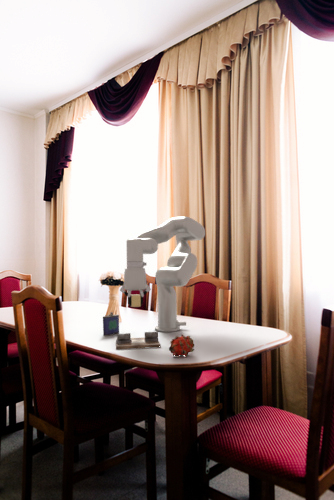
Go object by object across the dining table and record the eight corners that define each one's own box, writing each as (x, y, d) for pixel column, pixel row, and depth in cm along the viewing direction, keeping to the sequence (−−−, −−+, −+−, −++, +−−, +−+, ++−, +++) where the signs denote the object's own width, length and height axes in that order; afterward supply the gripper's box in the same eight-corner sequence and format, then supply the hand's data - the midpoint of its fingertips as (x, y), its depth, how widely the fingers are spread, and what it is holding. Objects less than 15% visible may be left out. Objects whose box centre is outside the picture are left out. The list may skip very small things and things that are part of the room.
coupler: (130, 305, 173) (130, 294, 173) (139, 305, 174) (139, 294, 174) (131, 306, 169) (131, 295, 169) (140, 306, 169) (140, 295, 169)
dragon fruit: (195, 357, 145) (173, 368, 137) (181, 341, 149) (158, 351, 141) (203, 342, 140) (180, 352, 132) (188, 326, 145) (165, 336, 137)
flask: (116, 332, 186) (116, 310, 186) (120, 333, 184) (120, 311, 184) (101, 335, 179) (101, 312, 179) (105, 336, 177) (105, 313, 177)
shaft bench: (156, 339, 168) (156, 328, 168) (160, 347, 154) (160, 335, 154) (115, 341, 166) (115, 330, 166) (116, 349, 152) (116, 336, 152)
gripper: (152, 264, 177) (152, 303, 177) (116, 265, 174) (116, 305, 174) (154, 265, 169) (155, 306, 169) (116, 266, 166) (117, 307, 166)
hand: (135, 305), depth 171 cm, fingers closed on coupler, 4 cm apart
